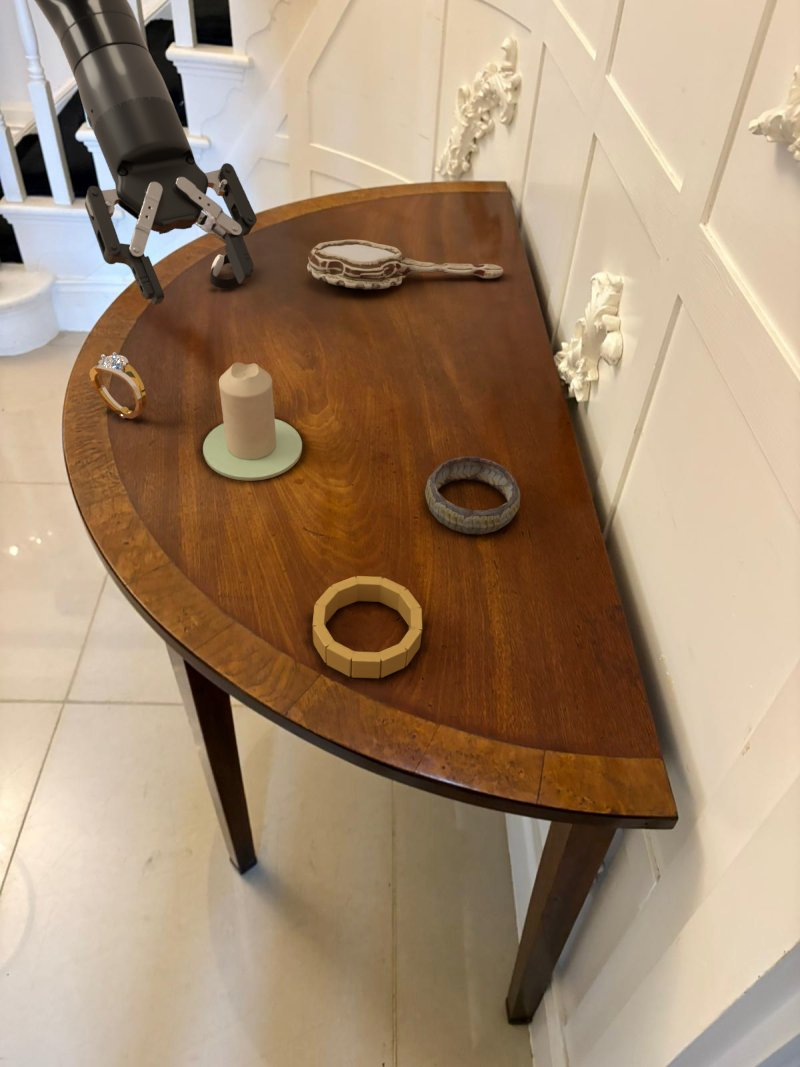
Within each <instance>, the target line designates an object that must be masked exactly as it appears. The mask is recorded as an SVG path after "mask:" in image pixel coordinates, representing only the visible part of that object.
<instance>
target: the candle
mask: <svg viewBox="0 0 800 1067" xmlns="http://www.w3.org/2000/svg"><path fill="white" fill-rule="evenodd" d="M218 387H219V396H220V404H221V411H222V420H223V423H224V428H225V436H226V443H227V447H228V450H229V452H230V453H231V454H232V455H234V456H236V457H238V458H241V459H247V460H253V459H259V458H263V457H265V456H267V455H269V454H270V453H271V452H272V451H273V450H274V448H275V446H276V431H275V419H276V418H275V417H276V416H275V404H274V390H273V378H272V376H271V374H270V373H269V372H267V371H266V370H265V369H264V368H262V367H261V366H259V365H258V364H257V363H256V362H253V363H248V364H245V363H243V362H233V364H231V366H230V367H229V368H228V369H227V370H226V371H224V373H222V374H221V375H220V377H219V379H218Z"/></svg>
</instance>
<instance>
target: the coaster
mask: <svg viewBox="0 0 800 1067" xmlns="http://www.w3.org/2000/svg"><path fill="white" fill-rule="evenodd" d="M275 431H276V446H275V448H274V450H273V451H272V452H271V453H270V454H269V455H267V456H265V457H263V458H259V459H253V460H247V459H241V458H238V457H236V456H234V455H232V454H231V453H230V452H229V450H228V447H227V443H226V436H225V428H224V422H222V423H220V424H219V425H217V426H216V427H214V428H213V429H212V430H211V431H210V432H209V433H208V435H207V436H206V437H205V439H204V441H203V445H202V454H203V458H204V460H205V463H207V465H208V467H209V468H210V469H212V470H213V471H214V472H216V473H217V474H219V475H221V476H223V477H226V478H227V479H228V478H229V479H232V480H237V481H245V482H246V481H247V482H254V481H262V480H268V479H272V478H275V477H277V476H280V475H282V474H284V473H286V472H287V471H289V470H291V469H292V468H293V467H294V466H295V465H296V464H297V463H298V461H299V460H300V458H301V456H302V452H303V442H302V438H301V435H300V434H299V433H298V431H297V430H296V429H295V428H294V427H293V426H291V425H290V424H289V423H287V422H285V421H283V420H280V419H278V418H275Z"/></svg>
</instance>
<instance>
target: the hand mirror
mask: <svg viewBox="0 0 800 1067" xmlns="http://www.w3.org/2000/svg"><path fill="white" fill-rule="evenodd" d="M307 258H308V263H307V266H306V269H307V272H308V273H309V274H311V275H312V277H313V278H314V279H316V280H318V281H322V282H326V283H328V284H330V285H333V286H339V287H345V288H349V289H363V290H384V289H388V288H390V287H392V286H395V287H397V286H400V285H401V284H402V282H403V280H405V278H406V277H407V276H408V275H412V274H426V273H427V274H428V273H429V274H433V273H445V274H448V275H457V276H470V275H471V276H472V275H473V276H477V277H479V278H481V279H485V280H488V279H497V278H499V277H501V276H503V273H504V268H503V267H502V266H500V265H497V264H495V263H494V264H493V263H482V264H481V263H480V264H472V263H451V262H444V263H442V264H436V263H435V262H429V261H427V262H426V261H419V260H415V259H412V258H408V257H405V256H403V253H402V252H401V251H400V249H399V248H398V247H395V246H393V245H387V244H382V243H381V244H379V243H377V242H372V241H369V240H365V239H363V240H362V239H342V240H341V239H340V240H332V241H325V242H320V243H318V244H317V245H315V246H314V247H313V248H312V249H311V251H310V252H309V254H308V256H307Z"/></svg>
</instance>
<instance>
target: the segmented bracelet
mask: <svg viewBox="0 0 800 1067" xmlns="http://www.w3.org/2000/svg"><path fill="white" fill-rule="evenodd" d="M356 602H374V603H375V602H376V603H377V602H378V603H381V604H383V605H384V606H387V607H389V608H390V609H393V610H395V611H397V612H398V613H399V614H400V616H401V617H402V619H403V620H404V622H405V623H406V624H407V626H408V631H407V632H406V634H405V635H404V636H403V638H402V639H401V640H400V641H399V643H397V644H395V645H392V646H390V647H388V648H385V649H383V650H381V651H379V652H377V651H376V652H375V651H355V650H352V649H350V648H348V647H347V646H345V645H342V644H341V643H339V642H337V641H335V639H334V638H333V636H332V635H331V634H330V632H329V629H327V626H326V625H327V622H329V620H330V619H331V618H332V617H333V616H334V614H335V613H336V612H337V610H339V609H342V608H343V607H346V606H348V605H352V604H354V603H356ZM422 634H423V609H422V606H421V605H420V604H419V602H418V601H417V599H416V598H415V597H414V595H413V594H412V592H410V590H409V589H408V588H407V587H406V586H403V585H401V584H400V583H397V582H395V581H393V580H391V579H388V578H386V577H383V576H370V575H369V576H368V575H367V576H365V575H356V576H355V575H354V576H351V577H349V578H346V579H344V580H341V581H339V582H336V583H333V584H332V585H331V586H329V587H328V588H326V590H325V591H324V592H323V594H322V595H321V596H320V597H319V598H318V599H317V600H316V602H315V603H314V605H313V616H312V643H313V646H314V647H315V649H316V651H317V652H318V654H319V655H320V657H321V659H322V660H323V662H324V664H326V666H328V667H330V668H332V669H333V670H336V671H337V672H340V673H341V674H343V675H345V676H347V677H349V678H350V677H351V678H355V679H356V678H357V679H358V678H359V679H379V678H384V677H386V676H389V675H391V674H393V673H395V672H398V671H401V670H403V669H405V668H406V667H407V666H408V665H409V664H410V662H411V661H412V659H413V658H414V657H415V655H416V654H417V652H418V651H419V649H420V647H421V644H422Z"/></svg>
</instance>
